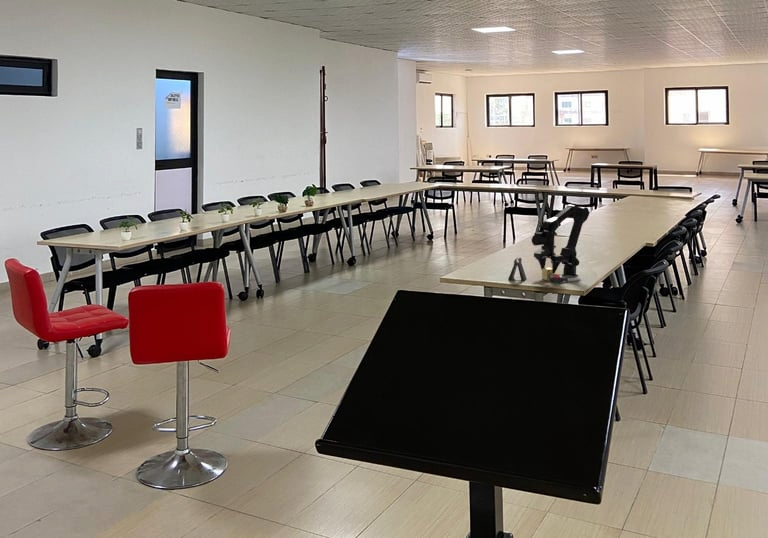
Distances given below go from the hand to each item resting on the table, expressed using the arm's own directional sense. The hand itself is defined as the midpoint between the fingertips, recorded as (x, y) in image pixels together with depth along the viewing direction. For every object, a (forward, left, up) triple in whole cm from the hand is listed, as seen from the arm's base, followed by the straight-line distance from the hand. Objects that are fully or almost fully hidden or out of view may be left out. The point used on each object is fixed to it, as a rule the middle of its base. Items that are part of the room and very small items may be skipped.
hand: (548, 271), depth 415 cm
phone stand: (+15, -7, -4) cm, 17 cm away
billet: (0, 0, -4) cm, 4 cm away
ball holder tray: (-3, +9, -4) cm, 10 cm away
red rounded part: (+2, +9, -2) cm, 9 cm away
